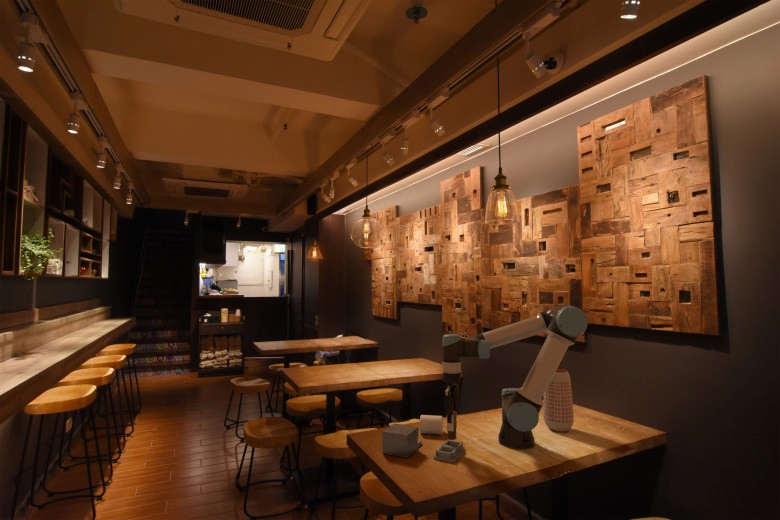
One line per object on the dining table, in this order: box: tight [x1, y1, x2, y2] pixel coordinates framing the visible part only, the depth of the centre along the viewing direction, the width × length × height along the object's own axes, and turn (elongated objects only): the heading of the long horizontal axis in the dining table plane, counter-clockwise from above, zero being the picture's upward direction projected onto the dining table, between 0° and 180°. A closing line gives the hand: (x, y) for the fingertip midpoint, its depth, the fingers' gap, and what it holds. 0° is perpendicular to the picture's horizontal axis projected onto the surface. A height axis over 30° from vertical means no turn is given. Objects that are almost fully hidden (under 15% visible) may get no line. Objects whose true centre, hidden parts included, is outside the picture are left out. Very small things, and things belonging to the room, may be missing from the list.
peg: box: [446, 410, 457, 441], centre depth 175 cm, size 4×4×11 cm
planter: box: [543, 367, 575, 433], centre depth 202 cm, size 13×13×28 cm
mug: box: [419, 414, 444, 436], centre depth 198 cm, size 12×10×8 cm
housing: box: [381, 422, 419, 459], centre depth 174 cm, size 11×11×9 cm
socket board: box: [433, 439, 465, 464], centre depth 171 cm, size 8×15×3 cm, turn 154°
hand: (451, 429), depth 175 cm, fingers closed on peg, 3 cm apart
